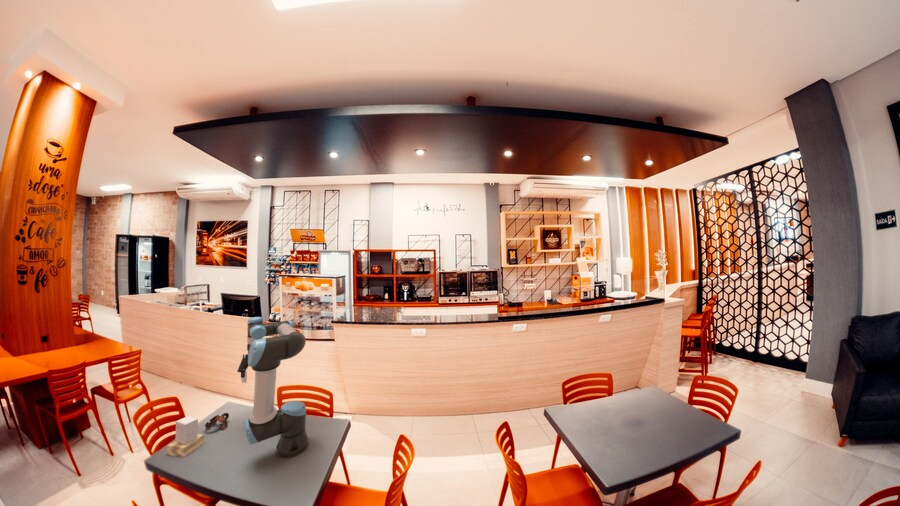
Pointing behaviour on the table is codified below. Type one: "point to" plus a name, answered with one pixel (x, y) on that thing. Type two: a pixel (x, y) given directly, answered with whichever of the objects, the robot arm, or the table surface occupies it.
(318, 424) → the table surface
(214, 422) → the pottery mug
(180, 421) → the small box
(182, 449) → the oak block
